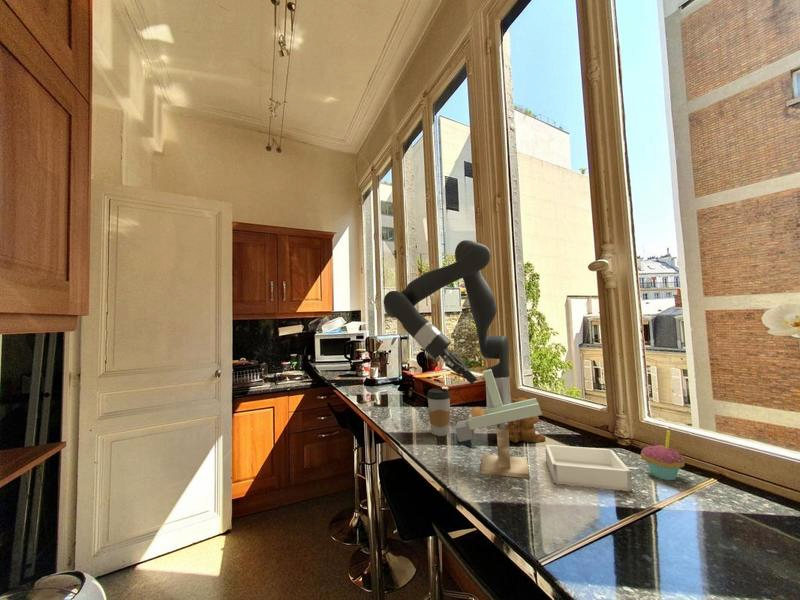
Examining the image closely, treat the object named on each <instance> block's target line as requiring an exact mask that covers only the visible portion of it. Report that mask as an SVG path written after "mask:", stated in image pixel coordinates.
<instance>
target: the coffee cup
mask: <svg viewBox="0 0 800 600" xmlns="http://www.w3.org/2000/svg"><path fill="white" fill-rule="evenodd" d="M426 398H427V403H428V416H429V417H428V418H429V425H430V432H431V434H432V435H433V434H434V435H433V436H436V435H437V436H436V437H445V436H447V434H448V435H449V433H450V421H451V420H450V418H451V417H450V413H451V409H450V408H451V407H450V405H451V403H450V402H451V401H450V400H451V393H450V391H449V389H447V388H438V387H437V388H431V389H429V390H428V392H427V396H426Z"/></svg>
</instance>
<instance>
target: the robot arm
mask: <svg viewBox="0 0 800 600" xmlns="http://www.w3.org/2000/svg"><path fill="white" fill-rule="evenodd" d="M491 257H492V255H491V250H490V249H489V247H488V246H487V245H484V244H482V243H480V242H476V241H473V240H468V239H467V240H466V239H464V240H462V241H460V242H459V243H458V244H457V245H456V247H455V250H454V259H455V262H453V263H451V264H448V265H446V266H443V267H439V268H436V269H435V268H434V269H433V270H430V271H427V272H426V273H423V274H422V275H420V276H418V277H417V278H415V279H414V280H412V281H411V282H409V283H408V284H407V285H406V287H405V288H404V289H403V290H402V291H398V290H390V291H388V292H387V293H386V294H385V295H384V298H383V307H384V311H385V314H386V315H387V316H389V317H390V318H396V319H397V320H398V321H399V322H400V324H401V325H402V327H403V329H404V330H405V331H406V332H407V333H408V335H410V337H412V338H413V339H414V341H415V342H416V343H417V344H418V345H419V346H420V347H421V349H423V351H425V352H426V353H427V355H429V356H430V357H431V358H432V359H433V360H436V359H438V358H439V357H440V358H441V359H442V362H443V363H444V365H445V366H446V367H447V368H448V369H450V370H451V371H453V372H454V373H456V374H457V375H458V376H462V377H463V378H464V379H465V380H466V381H467V382H468V383H470V385H473V384H474V383H475V382H476V381H477V377H476V376H475V375H474V373H472V372H471V371H470V370H469V369H468V366H467V364H466V363H465V362H464V361H463V360H462V358H461V357H460V356H459V354H457V353H456V351H454V350H450V349H449V346H450V345H451V344H452V342H451V340H450V339H449V338H448V337H446V335H444V334H443V333H442V332H441V330H440V329H438V328H437V326H435V325H433V324H432V323H431V322H430V321H429V320H428V319H427V318H425V317H424V316H423V315H422V314H421V313H420V312H419V310H417V309H416V307H415V306H416V305H417V304H418V303H419V302H421V301H423V300H425V299H427V298H428V297H430V296H431V295H433V294H434V293H436V292H438V291H440V290H441V289H443V288H444V287H447V286H449V285H451V284H452V283H455V282H457V281H459V280H463V283H464V288H465V291H466V295H467V298H468V302H469V303H468V304H469V308H470V312H471V315H472V318H473V320H474V324H475V329H476V332H477V333H476V334H477V340H478V344H479V345H478V346H479V352H480V354H481V356H482V357H483V358H485V359H488V360H490V359H492V360H493V359H495V360H499V362H498V363H497V364H494V365H493V366H489V367H486V368H485V370H489V369H491V370H492V373H493V376H494V379H495V382H496V386H497V389H498V392H499V395H500V398H501V401H502V404H503V405H507V404H511V403H512V395H511V382H510V381H511V380H510V357H509V356H510V355H509V354H510V345H509V344H510V342H509V339H508V336H506V335H489V334H488V330H489V328H490V325H491V324H492V322H493V321H494V319H495V317H496V316H497V311H498V310H497V303H496V299H495V296H494V293H493V291H492V289H491V288H490V286H489V285H488V283H487V281H486V279H485V278H484V277H483V274H482V272H481V270H483V269H485V268H486V267H487V266H488V264H489V263H490V261H491ZM485 391H486V392H485V393H486V394H485V395H486V397H485V398H486V409H489V408H493V407H494V406H493V403H492V400H491V396H490V393H489V390H488V387H487V384H486V383H485Z"/></svg>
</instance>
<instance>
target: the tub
mask: <svg viewBox="0 0 800 600" xmlns="http://www.w3.org/2000/svg"><path fill="white" fill-rule="evenodd" d="M544 450H545V461H546V464H547V468H548V471H549V473H550V476H551V479H552V483H553V484H554V483H556V484H555V485H562V484H567V485H566V486H572V485H573V486H574V487H582V486H584V487H583V488H591V487H594V488H593V489H602V490H611V489H614V490H613V491H620V490H622V492H630V491H632V492H633V483H632V471H631V470H630V469H629V468H628V466H627V465H626V464H625V463H624V462H623V461H622V459H621V458H620V457H619V455H617V454H616V452H615V451H614V450H613V449H611V448H610V449H609V448H600V447H599V448H598V447H597V448H596V447H585V446H584V447H583V446H569V445H557V444H545V448H544Z"/></svg>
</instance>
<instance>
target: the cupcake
mask: <svg viewBox="0 0 800 600" xmlns="http://www.w3.org/2000/svg"><path fill="white" fill-rule="evenodd" d="M665 436H666V437H665V444H664V445H663V444H658V445H655V444H654V445H653V444H652V445H648V446H645V447H643V448H642V449H641V451H640V458H641V459H642V460H643V461H645V462H646V463H647V466H648V468H649V470H650V473H651V474H652V476H654V477H655V478H658V479H661V480H665V481H674V480H677V476H678V473H679V472H680V469H681V468H684V467H685V460H684V456H682V453H679V452H678V451H677V450H675V449H673V448H670V439H671V427H668V430H666V435H665Z"/></svg>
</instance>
